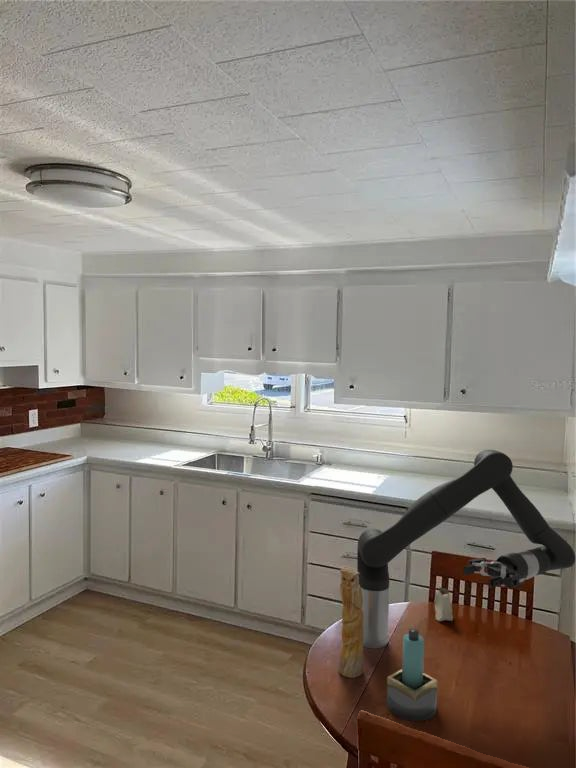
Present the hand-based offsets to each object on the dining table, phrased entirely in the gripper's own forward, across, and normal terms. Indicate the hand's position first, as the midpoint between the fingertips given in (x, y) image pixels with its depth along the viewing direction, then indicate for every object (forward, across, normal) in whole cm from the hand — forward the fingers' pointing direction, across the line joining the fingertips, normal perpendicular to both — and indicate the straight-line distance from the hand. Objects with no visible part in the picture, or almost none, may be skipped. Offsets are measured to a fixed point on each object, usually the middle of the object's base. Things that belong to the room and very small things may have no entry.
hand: (476, 577), depth 152 cm
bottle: (+21, 0, +24) cm, 32 cm away
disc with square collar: (+21, 0, +28) cm, 35 cm away
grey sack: (-20, -30, +29) cm, 46 cm away
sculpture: (+26, -18, +29) cm, 43 cm away
